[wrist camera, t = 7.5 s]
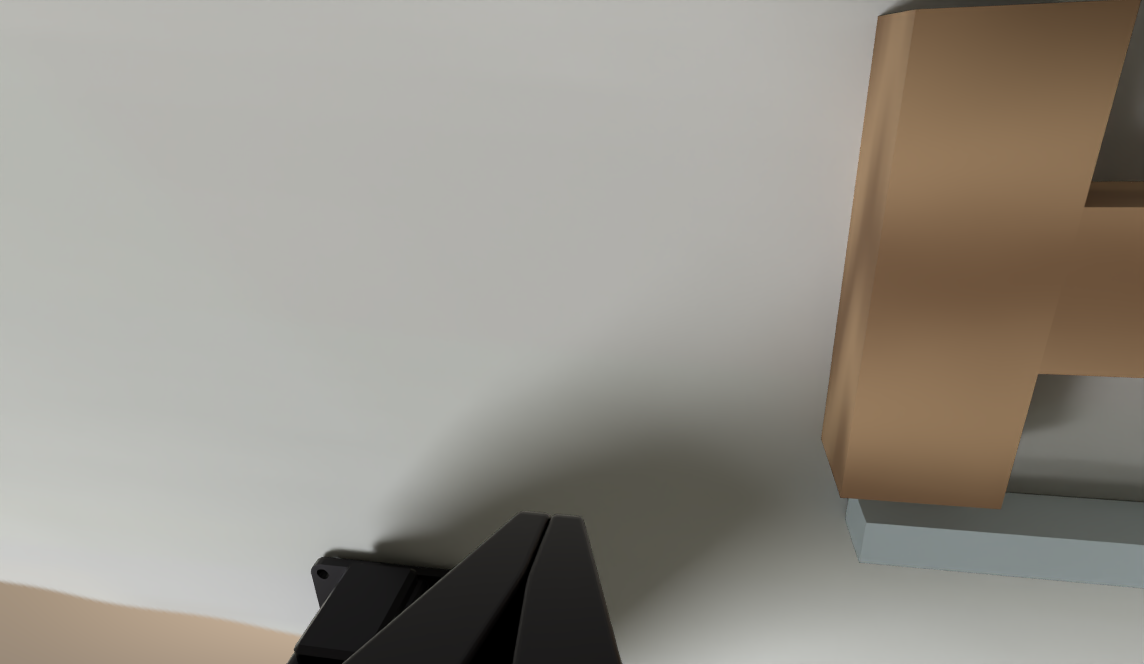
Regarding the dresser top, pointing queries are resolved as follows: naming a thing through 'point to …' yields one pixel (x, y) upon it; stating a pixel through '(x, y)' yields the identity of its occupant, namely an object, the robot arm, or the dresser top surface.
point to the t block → (980, 245)
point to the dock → (1007, 538)
